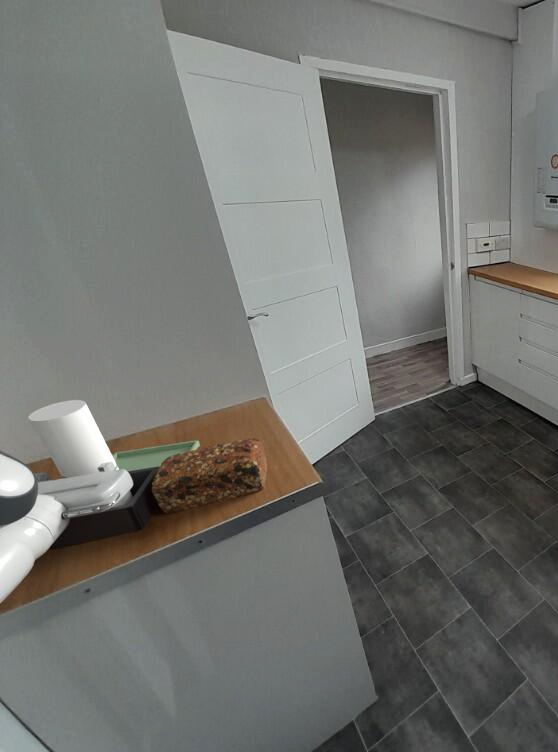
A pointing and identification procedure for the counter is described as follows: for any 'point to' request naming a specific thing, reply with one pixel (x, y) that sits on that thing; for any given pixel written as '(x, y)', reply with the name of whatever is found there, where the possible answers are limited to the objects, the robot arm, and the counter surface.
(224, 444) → the bread
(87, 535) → the basket
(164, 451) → the tray
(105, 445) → the cylindrical container
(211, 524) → the counter surface
